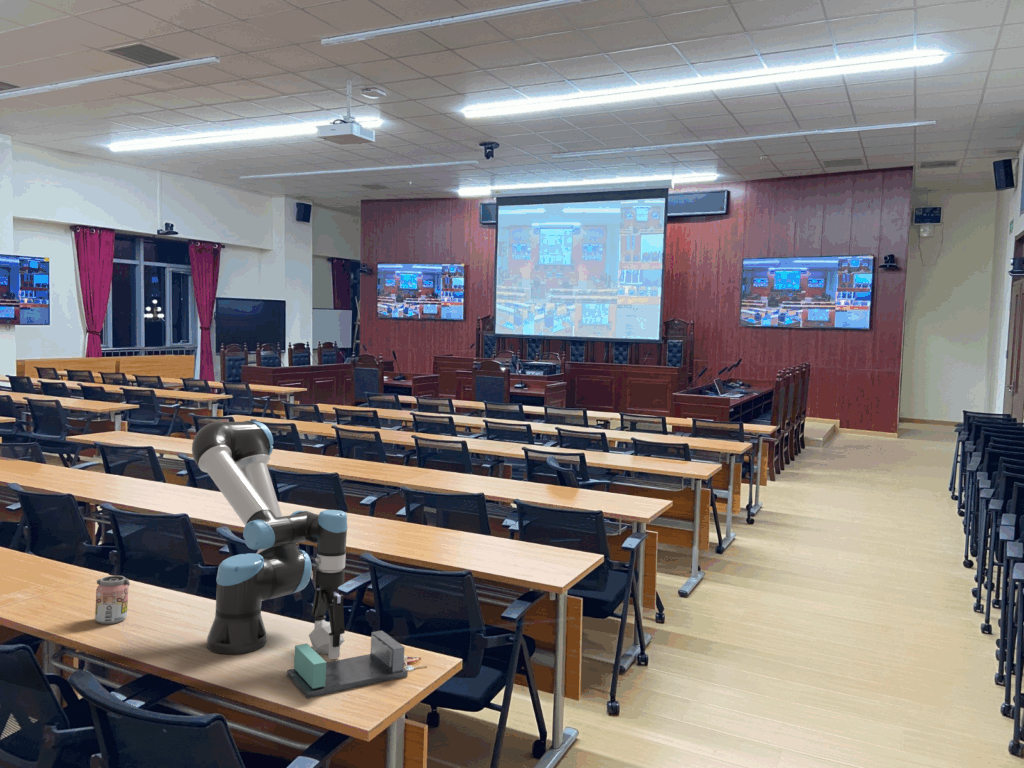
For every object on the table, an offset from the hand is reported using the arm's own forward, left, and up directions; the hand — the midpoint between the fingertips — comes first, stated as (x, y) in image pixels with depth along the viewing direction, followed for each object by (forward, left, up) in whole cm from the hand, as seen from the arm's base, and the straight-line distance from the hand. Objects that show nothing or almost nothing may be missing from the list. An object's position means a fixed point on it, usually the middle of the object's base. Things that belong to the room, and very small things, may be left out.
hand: (326, 650), depth 199 cm
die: (0, 0, -1) cm, 1 cm away
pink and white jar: (-50, -45, -1) cm, 67 cm away
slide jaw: (+17, -11, +2) cm, 20 cm away
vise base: (+17, -1, 0) cm, 17 cm away
